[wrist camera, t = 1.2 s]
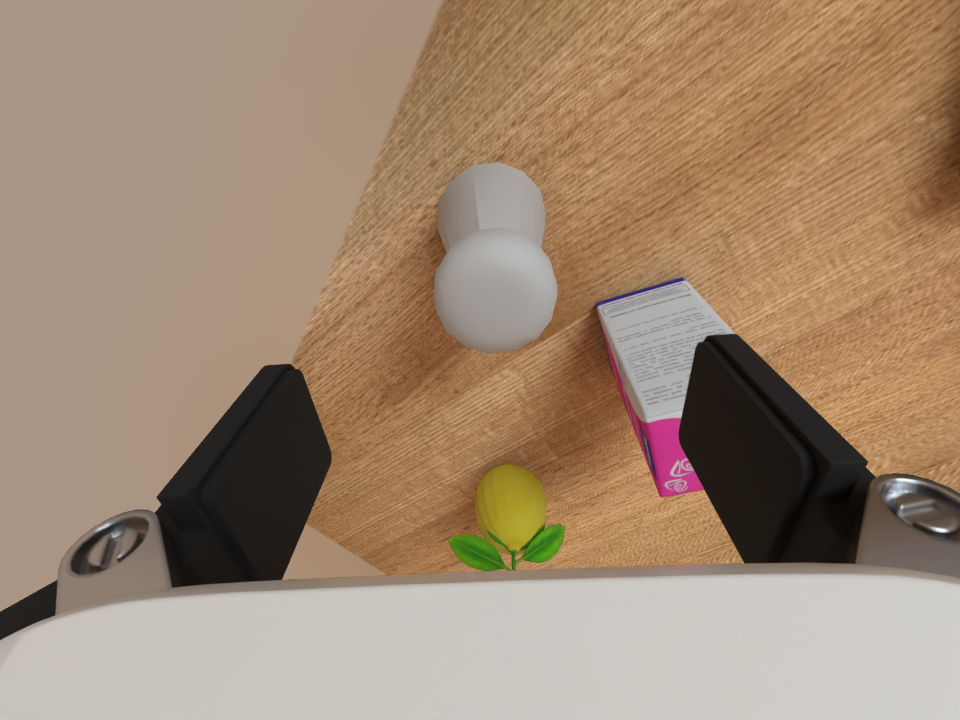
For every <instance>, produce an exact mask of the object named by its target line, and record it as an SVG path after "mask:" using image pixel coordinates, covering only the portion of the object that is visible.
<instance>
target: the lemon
mask: <svg viewBox="0 0 960 720" xmlns="http://www.w3.org/2000/svg"><path fill="white" fill-rule="evenodd" d="M475 511H476V519H477V524H478V527H479V529H480V531H481V533H482V535H483V536H484V538H485V539H483V538H481V537H479V536H476V535H468V534H461V535H457V536H454V537H452V538H448V541H449V543H450V546H451V548H452V550H453V552H454V553H455V554H456V556H457V557H458V558H459V559H460V560H461V561H462V562H463V563H465V564H466V565H468V566H469V567H472V568H475V569H478V570H483V571H492V570H498V569H506V570H508V571H512V570H513V571H515V570H516V566H515V565H516V563H518V562H519V561H521V560H526V561H531V562H536V563H542V562H545V561H548V560H550V559H551V558H552V557H553V556H554V555H555V554H556V553H557V552H558V550H559V548H560V546H561V544H562V542H563V538H564V531H565V526H563V525H552V526H549V527H547V528H546V529H544V528H545V522H546V512H547V502H546V496H545V492H544V490H543V487H542V485H541V482H540V480H539V479H538V478H537V477H536V476H535V475H534V474H533V473H532V472H531V471H530V470H528V469H527V468H525V467H523V466H520V465H515V464H503V465H498V466H496V467H494V468H493V469H491V470H490V471H488V472H487V473H486V474H485V475H484V476H483V478H482V479H481V481H480V483H479V486H478V489H477V492H476V496H475ZM498 551H499V552H501V553H504V554H509V555H512V570H510V569H509V568H508V567H506V566H505V564H504V562H503V560H502V558H501V556H500V554H499V553H498ZM521 553H524V554H523V556H522V557H521V558H520V559H518V560H517V561H515V555H516V554H521Z"/></svg>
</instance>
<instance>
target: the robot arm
mask: <svg viewBox="0 0 960 720" xmlns="http://www.w3.org/2000/svg"><path fill="white" fill-rule="evenodd" d="M678 434H679V442H680V445H681V448H682V449H683V451H684V453H685V455H686V457H687V459H688V460H689V462H690V464H691V466H692V468H693V470H694V471H695V473H696V475H697V477H698V479H699V481H700V482H701V484H702V486H703V488H704V490H705V492H706V493H707V495H708V497H709V499H710V501H711V503H712V505H713V506H714V508H715V510H716V512H717V514H718V516H719V517H720V519H721V521H722V523H723V525H724V527H725V528H726V530H727V532H728V534H729V536H730V538H731V539H732V541H733V543H734V545H735V547H736V549H737V550H738V552H739V554H740V556H741V558H742V560H743V561H744V563H745V564H698V565H666V566H634V567H602V568H571V569H543V570H515V571H488V572H461V573H435V574H409V575H385V576H363V577H362V576H361V577H339V578H315V579H291V580H282V578H283V576H284V573H285V571H286V569H287V566H288V564H289V562H290V559H291V557H292V555H293V552H294V550H295V547H296V545H297V543H298V540H299V538H300V535H301V533H302V531H303V529H304V526H305V524H306V521H307V519H308V517H309V514H310V512H311V510H312V507H313V505H314V503H315V500H316V498H317V495H318V493H319V491H320V488H321V486H322V484H323V481H324V479H325V477H326V474H327V472H328V469H329V467H330V464H331V450H330V447H329V444H328V442H327V439H326V436H325V434H324V431H323V428H322V425H321V423H320V420H319V417H318V415H317V412H316V409H315V406H314V404H313V401H312V398H311V395H310V393H309V390H308V387H307V385H306V382H305V379H304V376H303V374H302V372H301V371H300V370H298V369H295V368H294V367H293V366H292V365H291V364H282V365H281V364H280V365H267V366H264V367H263V368H262V369H261V370H260V371H259V373H258V374H257V375H256V376H255V378H254V379H253V380H252V381H251V382H250V384H249V385H248V386H247V387H246V388H245V390H244V391H243V392H242V394H241V395H240V396H239V397H238V398H237V400H236V401H235V402H234V403H233V405H232V406H231V407H230V408H229V409H228V410H227V412H226V413H225V414H224V415H223V417H222V418H221V419H220V420H219V421H218V423H217V424H216V425H215V426H214V428H213V429H212V430H211V431H210V432H209V434H208V435H207V436H206V437H205V439H204V440H203V441H202V442H201V443H200V445H199V446H198V447H197V448H196V450H195V451H194V452H193V453H192V454H191V456H190V457H189V458H188V459H187V461H186V462H185V463H184V464H183V466H182V467H181V468H180V469H179V470H178V472H177V473H176V474H175V475H174V477H173V478H172V479H171V480H170V481H169V483H168V484H167V485H166V486H165V487H164V489H163V490H162V491H161V492H160V494H159V495H158V496H157V499H158V500H159V501H160V503H161V504H162V505H161V506H160V507H159V509H158V510H157V511H156V512H155V513H154V512H151V511H149V510H133V511H128V512H124V513H121V514H119V515H116V516H114V517H111V518H109V519H107V520H105V521H103V522H102V523H100V524H98V525H97V526H95V527H93V528H92V529H90V530H89V531H88V532H86V533H85V534H84V535H83V536H81V537H80V538H79V539H78V540H77V541H76V542H75V543H74V544H73V545H72V546H71V547H70V548H69V549H68V551H67V552H66V554H65V555H64V557H63V558H62V560H61V563H60V566H59V570H58V580H56V581H55V582H53V583H51V584H49V585H47V586H46V587H44V588H42V589H40V590H38V591H37V592H35V593H33V594H31V595H29V596H28V597H26V598H24V599H22V600H20V601H19V602H17V603H15V604H13V605H12V606H10V607H8V608H6V609H4V610H3V611H1V612H0V720H960V493H958V492H956V491H954V490H952V489H951V488H949V487H947V486H944V485H942V484H939V483H937V482H934V481H932V480H929V479H925V478H921V477H917V476H914V475H908V474H898V473H892V474H884V475H880V476H878V477H875V476H874V475H873V474H872V473H871V472H870V471H869V470H868V469H867V468H866V465H867V463H868V461H867V460H866V459H865V458H864V457H863V456H862V455H861V454H860V453H859V452H858V451H857V450H856V449H855V448H854V447H853V446H851V445H850V444H849V443H848V442H847V441H846V440H845V439H844V438H843V437H842V436H841V435H840V434H839V433H838V432H837V431H836V430H835V429H834V428H833V427H832V426H831V425H830V424H829V423H828V422H827V421H826V420H825V419H824V418H823V417H822V416H821V415H820V414H819V413H818V412H817V411H815V410H814V409H813V408H812V407H811V406H810V405H809V404H808V403H807V402H806V401H805V400H804V399H803V398H802V397H801V396H800V395H799V394H798V393H797V392H796V391H795V390H794V389H793V388H792V387H791V386H790V385H789V384H788V383H787V382H786V381H785V380H784V379H783V378H782V377H781V376H779V375H778V374H777V373H776V372H775V371H774V370H773V369H772V368H771V367H770V366H769V365H768V364H767V363H766V362H765V361H764V360H763V359H762V358H761V357H760V356H759V355H758V354H757V353H756V352H755V351H754V350H753V349H752V348H751V347H750V346H749V345H748V344H747V343H746V342H745V341H743V340H742V339H741V338H740V337H739V336H738V335H737V334H722V335H708V336H707V337H706V338H705V339H704V341H703V342H699V343H698V344H697V346H696V349H695V353H694V358H693V363H692V368H691V373H690V378H689V383H688V388H687V393H686V398H685V402H684V407H683V412H682V417H681V422H680V427H679V433H678Z"/></svg>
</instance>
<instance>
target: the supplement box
mask: <svg viewBox="0 0 960 720" xmlns="http://www.w3.org/2000/svg"><path fill="white" fill-rule="evenodd" d="M596 308H597V312H598V315H599V318H600V322H601V326H602V330H603V334H604V338H605V342H606V346H607V351H608V355H609V361H610V366H611V371H612V373H613V376H614V378H615V381H616V384H617V386H618V389H619V392H620V394H621V397H622V399H623V402H624V405H625V407H626V410H627V412H628V415H629V417H630V420H631V423H632V425H633V428H634V430H635V433H636V435H637V438H638V441H639V443H640V446H641V448H642V451H643V453H644V456H645V459H646V461H647V464H648V466H649V469H650V472H651V474H652V477H653V480H654V482H655V485H656V487H657V490H658V493H659V495H660V497H668V496H674V495H679V494H684V493H689V492H693V491H698V490H703V489H704V488H703V486H702V484H701V482H700V481H699V479H698V477H697V475H696V473H695V471H694V470H693V468H692V466H691V464H690V462H689V460H688V459H687V457H686V455H685V453H684V451H683V449H682V448H681V445H680V442H679V434H678V433H679V427H680V422H681V417H682V412H683V407H684V402H685V398H686V393H687V388H688V383H689V378H690V373H691V368H692V363H693V358H694V353H695V349H696V346H697V344H698V343H699V342H703V341H704V339H705V338H706V337H707V336H708V335H722V334H735V333H734V332H733V331H732V330H731V329H730V328H729V326H728V325H727V324H726V323H725V322H724V321H723V320H722V319H721V318H720V317H719V316H718V315H717V313H716V312H715V311H714V310H713V309H712V308H711V307H710V306H709V305H708V304H707V303H706V301H705V300H704V299H703V298H702V297H701V296H700V295H699V294H698V293H697V292H696V290H695V289H694V288H693V287H692V286H691V285H690V284H689V282H687V280H686V279H685V277H681V278H677V279H673V280H670V281H667V282H664V283H661V284H658V285H654V286H651V287H648V288H644V289H641V290H637V291H634V292H631V293H627V294H623V295H620V296H616V297H614V298H610V299H607V300H604V301H600V302H598V303H597V304H596Z"/></svg>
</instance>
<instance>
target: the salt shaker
mask: <svg viewBox="0 0 960 720" xmlns="http://www.w3.org/2000/svg"><path fill="white" fill-rule="evenodd" d="M546 217H547V214H546V210H545V206H544V203H543V199H542V195H541V192H540V190H539V189H538V187H537V186H536V185H535V184H534V183H533V182H532V181H531V180H530V178H529V177H528V176H527V175H526V174H525V173H524V172H523V171H522V170H519V169H516V168H513V167H511V166H508V165H505V164H502V163H500V162H495V163H486V164H478V165H472V166H470V167H469V168H467V169H466V170H465V171H463V172H462V173H461V174H459V175H458V176H456V177H455V178H454V179H452V180H451V181H450V183H449V185H448V186H447V188H446V190H445V192H444V194H443V195H442V197H441V199H440V201H439V202H438V224H437V229H438V231H439V234H440V237H441V239H442V242H443V245H444V247H445V250H446V253H447V254H446V255H445V257H444V259H443V260H442V262H441V264H440V265H439V267H438V269H437V271H436V273H435V282H434V304H435V309H436V311H437V314H438V316H439V318H440V320H441V323H442V325H443V327H444V329H445V331H446V332H447V333H449V334H450V335H451V336H452V337H454V338H455V339H456V340H457V341H458V342H460V343H461V344H462V345H463V346H465V347H468V348H472V349H475V350H478V351H481V352H485V353H488V354H490V353H499V352H509V351H515V350H517V349H519V348H520V347H522V346H524V345H526V344H528V343H530V342H532V341H534V340H536V339H537V338H538V337H539V335H540V334H541V333H542V331H543V330H544V329H545V328H546V326H547V325H548V324H549V322H550V321H551V320H552V316H553V312H554V307H555V303H556V299H557V293H558V285H557V282H556V279H555V275H554V272H553V269H552V265H551V262H550V260H549V258H548V256H547V255H546V254H545V253H544V251H543V250H542V249H541V246H542V240H543V234H544V229H545V223H546Z"/></svg>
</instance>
